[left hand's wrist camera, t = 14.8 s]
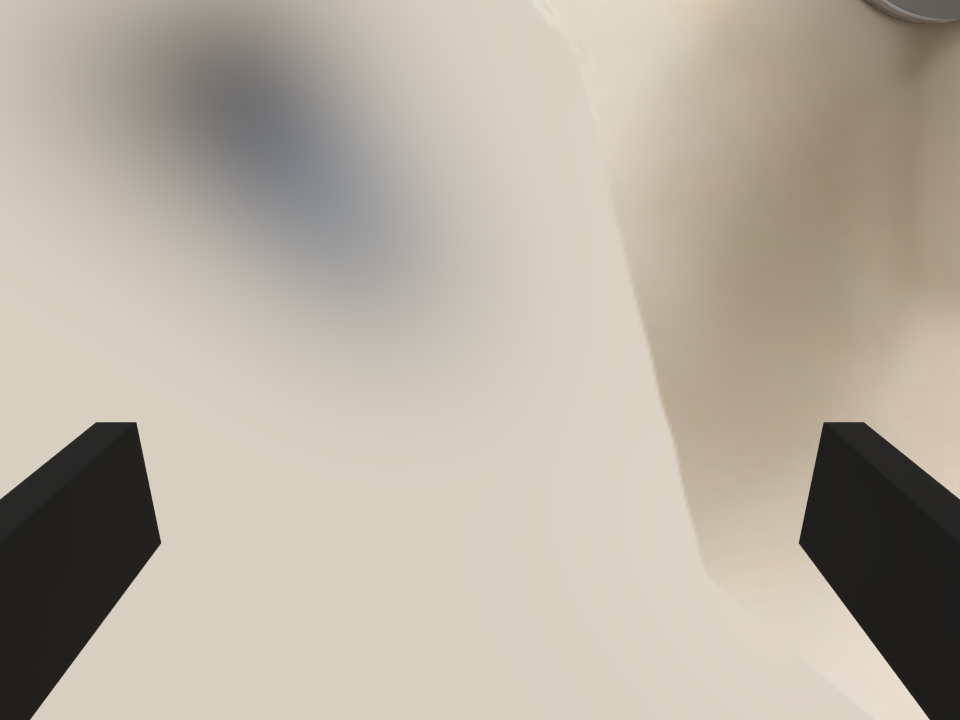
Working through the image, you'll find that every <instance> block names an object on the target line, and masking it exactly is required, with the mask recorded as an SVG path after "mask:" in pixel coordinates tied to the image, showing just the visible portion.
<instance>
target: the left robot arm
mask: <svg viewBox="0 0 960 720" xmlns="http://www.w3.org/2000/svg"><path fill="white" fill-rule="evenodd" d="M866 1H867V2H868V3H870V4H871V5H873V6H874V7H875V8H877V9H879V10H880V11H882V12H884V13H886V14H888V15H890V16H893V17H895V18H898V19H902V20H905V21H909V22H916V23H931V24H935V23H947V22H952V21H957V20H960V0H866ZM160 544H161V540H160V535H159V530H158V526H157V521H156V516H155V511H154V506H153V501H152V496H151V491H150V487H149V482H148V477H147V472H146V467H145V462H144V457H143V453H142V448H141V443H140V438H139V433H138V428H137V423H136V422H96V423H95V424H93V425H92V426H91V427H90V428H89V429H87V430H86V431H85V432H84V433H82V434H81V435H80V436H79V437H77V438H76V439H75V440H74V441H72V442H71V443H70V444H69V445H67V446H66V447H65V448H64V449H62V450H61V451H60V452H59V453H57V454H56V455H55V456H54V457H52V458H51V459H50V460H49V461H48V462H46V463H45V464H44V465H43V466H41V467H40V468H39V469H38V470H36V471H35V472H34V473H33V474H31V475H30V476H29V477H28V478H26V479H25V480H24V481H23V482H21V483H20V484H19V485H18V486H16V487H15V488H14V489H13V490H11V491H10V492H9V493H8V494H6V495H5V496H4V497H3V498H1V499H0V720H30V719H31V718H32V716H33V715H34V714H35V712H36V711H37V710H38V708H39V707H40V706H41V704H42V703H43V702H44V700H45V699H46V698H47V696H48V695H49V694H50V692H51V691H52V689H53V688H54V687H55V685H56V684H57V683H58V681H59V680H60V679H61V677H62V676H63V675H64V673H65V672H66V671H67V669H68V668H69V667H70V665H71V664H72V663H73V661H74V660H75V659H76V657H77V656H78V654H79V653H80V652H81V650H82V649H83V648H84V646H85V645H86V644H87V642H88V641H89V640H90V638H91V637H92V636H93V634H94V633H95V632H96V630H97V629H98V628H99V626H100V625H101V623H102V622H103V621H104V619H105V618H106V617H107V615H108V614H109V613H110V611H111V610H112V609H113V607H114V606H115V605H116V603H117V602H118V601H119V599H120V598H121V597H122V595H123V594H124V593H125V591H126V590H127V588H128V587H129V586H130V584H131V583H132V582H133V580H134V579H135V578H136V576H137V575H138V574H139V572H140V571H141V570H142V568H143V567H144V566H145V564H146V563H147V562H148V560H149V559H150V557H151V556H152V555H153V553H154V552H155V551H156V549H157V548H158V547H159V545H160ZM799 544H800V545H801V547H802V548H803V549H804V551H805V552H806V553H807V555H808V556H809V558H810V559H811V560H812V562H813V563H814V564H815V566H816V567H817V568H818V570H819V571H820V572H821V574H822V575H823V576H824V578H825V579H826V580H827V582H828V583H829V584H830V586H831V587H832V588H833V590H834V591H835V593H836V594H837V595H838V597H839V598H840V599H841V601H842V602H843V603H844V605H845V606H846V607H847V609H848V610H849V611H850V613H851V614H852V615H853V617H854V618H855V619H856V621H857V622H858V624H859V625H860V626H861V628H862V629H863V630H864V632H865V633H866V634H867V636H868V637H869V638H870V640H871V641H872V642H873V644H874V645H875V646H876V648H877V649H878V650H879V652H880V653H881V655H882V656H883V657H884V659H885V660H886V661H887V663H888V664H889V665H890V667H891V668H892V669H893V671H894V672H895V673H896V675H897V676H898V677H899V679H900V680H901V681H902V683H903V684H904V685H905V687H906V688H907V690H908V691H909V692H910V694H911V695H912V696H913V698H914V699H915V700H916V702H917V703H918V704H919V706H920V707H921V708H922V710H923V711H924V712H925V714H926V715H927V716H928V718H929V719H930V720H960V499H959V498H957V497H956V496H955V495H954V494H952V493H951V492H950V491H949V490H947V489H946V488H945V487H944V486H942V485H941V484H940V483H939V482H937V481H936V480H935V479H934V478H932V477H931V476H930V475H929V474H927V473H926V472H925V471H924V470H922V469H921V468H920V467H919V466H918V465H916V464H915V463H914V462H913V461H911V460H910V459H909V458H908V457H906V456H905V455H904V454H903V453H901V452H900V451H899V450H898V449H896V448H895V447H894V446H893V445H891V444H890V443H889V442H888V441H886V440H885V439H884V438H883V437H881V436H880V435H879V434H878V433H876V432H875V431H874V430H873V429H871V428H870V427H869V426H868V425H867V424H865V423H864V422H824V423H823V428H822V433H821V438H820V443H819V448H818V453H817V457H816V462H815V467H814V472H813V477H812V482H811V487H810V491H809V496H808V501H807V506H806V511H805V516H804V521H803V525H802V530H801V535H800V540H799Z"/></svg>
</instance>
